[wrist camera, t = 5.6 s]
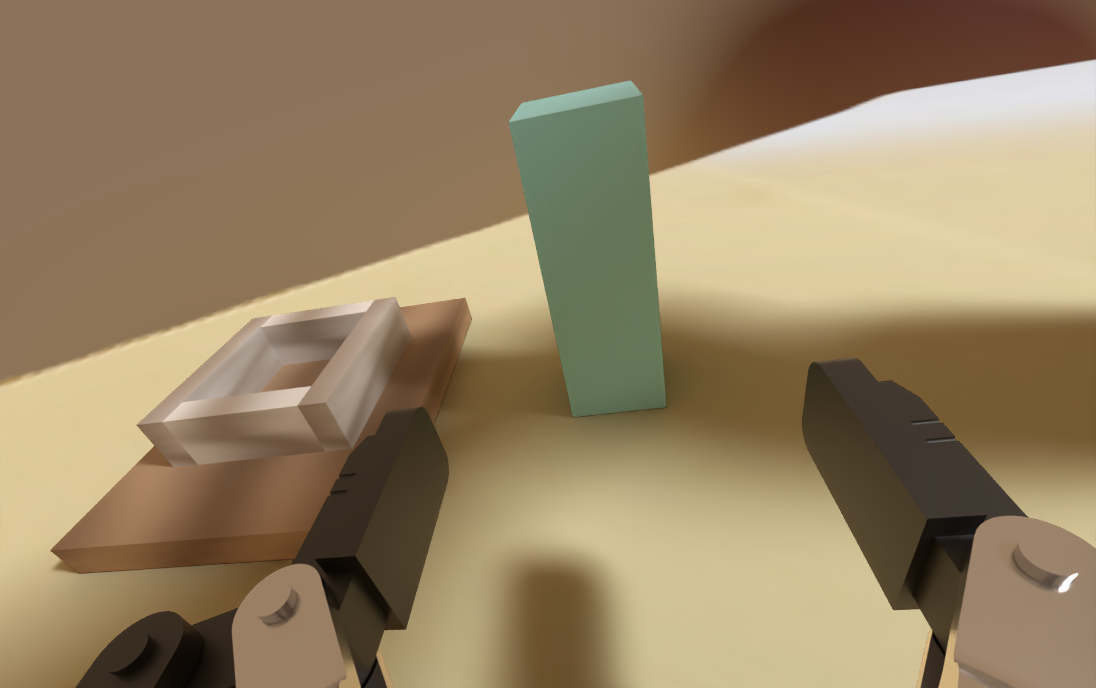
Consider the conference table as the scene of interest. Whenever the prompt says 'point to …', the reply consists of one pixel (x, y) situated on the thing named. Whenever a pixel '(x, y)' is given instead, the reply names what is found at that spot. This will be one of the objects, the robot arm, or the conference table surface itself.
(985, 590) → the robot arm
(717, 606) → the conference table surface
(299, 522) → the walnut socket plate
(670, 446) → the conference table surface
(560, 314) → the teal post
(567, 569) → the conference table surface
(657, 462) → the conference table surface
